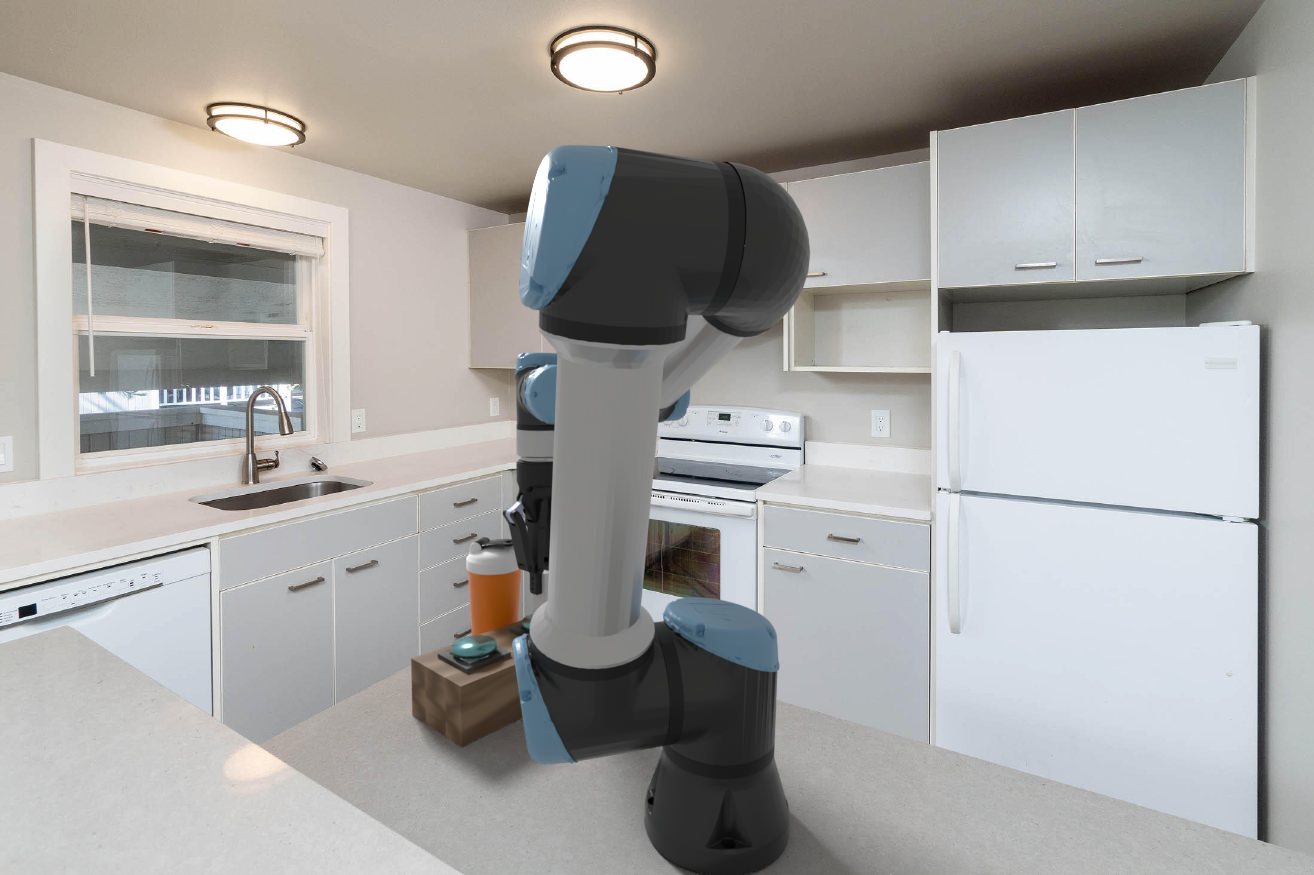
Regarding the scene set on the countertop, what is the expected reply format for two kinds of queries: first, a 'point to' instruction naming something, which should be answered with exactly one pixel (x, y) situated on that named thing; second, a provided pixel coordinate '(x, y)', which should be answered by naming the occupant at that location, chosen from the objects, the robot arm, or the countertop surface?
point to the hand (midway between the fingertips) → (542, 612)
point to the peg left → (473, 647)
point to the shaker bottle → (493, 584)
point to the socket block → (468, 689)
